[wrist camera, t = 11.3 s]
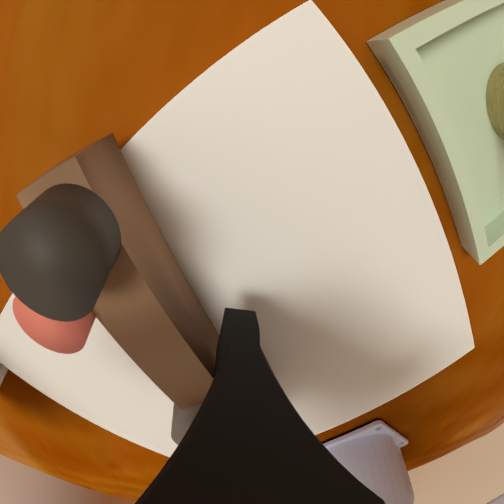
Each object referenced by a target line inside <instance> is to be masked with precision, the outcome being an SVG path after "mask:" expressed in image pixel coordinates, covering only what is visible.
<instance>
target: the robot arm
mask: <svg viewBox="0 0 504 504" xmlns="http://www.w3.org/2000/svg"><path fill="white" fill-rule="evenodd" d="M408 443H409V442H408V439H406V438H405V437H403V436H402V435H401V434H399V433H398V432H396V431H395V430H394V429H392V428H391V427H389V426H388V425H387V424H385V423H384V422H383V421H381V420H377V421H374V422H372V423H370V424H368V425H365V426H363V427H361V428H359V429H357V430H354V431H352V432H350V433H348V434H345V435H343V436H341V437H338V438H336V439H333V440H331V441H328V442H326V443H323V444H322V443H321V442H320V441H319V439H318V438H317V437H316V436H315V435H314V433H313V432H312V431H311V430H310V428H309V427H308V426H307V424H306V423H305V422H304V421H303V419H302V418H301V416H300V415H299V414H298V412H297V411H296V409H295V408H294V406H293V405H292V403H291V402H290V400H289V399H288V397H287V396H286V394H285V392H284V391H283V389H282V387H281V386H280V384H279V382H278V380H277V379H276V377H275V375H274V373H273V371H272V369H271V367H270V365H269V363H268V361H267V359H266V357H265V355H264V353H263V351H262V349H261V347H260V329H259V324H258V320H257V316H256V312H255V311H250V310H242V309H234V308H226V307H225V311H224V315H223V320H222V325H221V330H220V335H219V339H218V344H217V349H216V361H215V377H214V379H213V382H212V384H211V386H210V388H209V391H208V393H207V395H206V397H205V399H204V401H203V403H202V405H201V407H200V409H199V411H198V413H197V414H196V416H195V418H194V420H193V421H192V423H191V425H190V427H189V428H188V430H187V432H186V434H185V435H184V437H183V438H182V440H181V442H180V443H179V445H178V446H177V448H176V449H175V451H174V452H173V454H172V455H171V457H170V458H169V460H168V461H167V463H166V464H165V465H164V467H163V468H162V470H161V471H160V473H159V474H158V475H157V477H156V478H155V479H154V480H153V482H152V483H151V484H150V485H149V487H148V488H147V489H146V490H145V492H144V493H143V494H142V495H141V497H140V498H139V499H138V500H137V502H136V503H135V504H413V503H414V493H413V490H412V486H411V482H410V479H409V476H408V472H407V469H406V466H405V463H404V459H403V456H402V453H401V450H400V448H401V447H403V446H405V445H407V444H408ZM487 504H504V494H502V495H500V496H499V497H497V498H495V499H494V500H492V501H490V502H488V503H487Z"/></svg>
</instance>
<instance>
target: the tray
mask: <svg viewBox="0 0 504 504" xmlns="http://www.w3.org/2000/svg"><path fill="white" fill-rule="evenodd" d="M366 43H367V44H368V46H369V47H370V49H371V50H372V52H373V53H374V55H375V56H376V58H377V59H378V61H379V62H380V64H381V66H382V67H383V69H384V71H385V72H386V74H387V75H388V77H389V79H390V80H391V82H392V84H393V86H394V87H395V89H396V91H397V93H398V94H399V96H400V98H401V100H402V102H403V104H404V105H405V107H406V109H407V111H408V113H409V115H410V117H411V119H412V121H413V123H414V125H415V127H416V129H417V131H418V133H419V135H420V137H421V139H422V141H423V144H424V146H425V148H426V150H427V152H428V155H429V157H430V159H431V162H432V164H433V166H434V169H435V171H436V174H437V176H438V179H439V181H440V184H441V186H442V189H443V191H444V194H445V197H446V200H447V202H448V205H449V208H450V211H451V214H452V217H453V220H454V223H455V226H456V229H457V232H458V236H459V239H460V242H461V246H462V247H463V248H464V249H465V250H466V251H467V252H468V253H469V254H470V255H471V256H472V257H473V258H474V259H475V260H476V261H477V262H478V263H479V265H481V264H482V263H483V262H485V261H486V260H487V259H488V258H490V257H491V256H492V255H493V254H494V253H495V252H497V251H498V250H499V249H500V248H501V247H502V246H504V139H503V138H501V137H500V136H499V135H498V134H497V133H496V132H495V130H494V129H493V127H492V125H491V123H490V120H489V117H488V113H487V107H486V90H487V84H488V80H489V78H490V75H491V73H492V71H493V70H494V68H495V67H496V66H497V65H499V64H500V63H502V62H504V0H445V1H443V2H440V3H438V4H436V5H434V6H432V7H430V8H428V9H426V10H424V11H422V12H420V13H418V14H416V15H414V16H412V17H410V18H408V19H406V20H404V21H402V22H400V23H398V24H396V25H395V26H393V27H391V28H389V29H387V30H386V31H384V32H382V33H380V34H378V35H377V36H375V37H373V38H371V39H370V40H368V41H366Z"/></svg>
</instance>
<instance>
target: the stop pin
mask: <svg viewBox="0 0 504 504" xmlns="http://www.w3.org/2000/svg"><path fill="white" fill-rule="evenodd" d="M486 107H487V113H488V117H489V120H490V123H491V125H492V127H493V129H494V130H495V132H496V133H497V134H498V135H499V136H500V137H501V138H503V139H504V62H502V63H500V64H499V65H497V66H496V67H495V68H494V70H493V71H492V73H491V75H490V78H489V80H488V84H487V90H486Z"/></svg>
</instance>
